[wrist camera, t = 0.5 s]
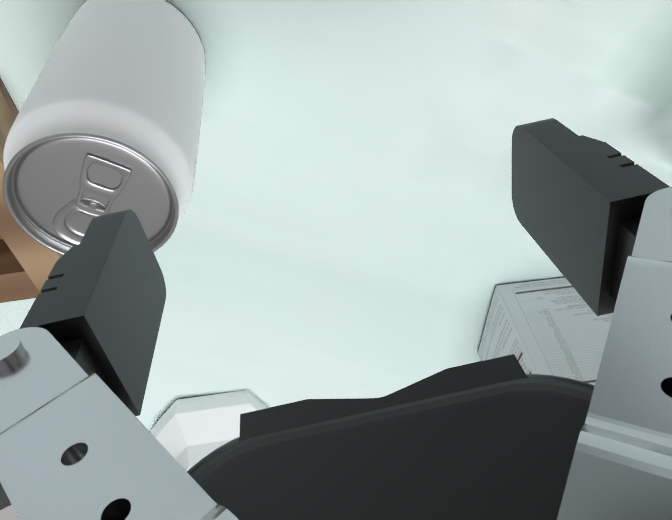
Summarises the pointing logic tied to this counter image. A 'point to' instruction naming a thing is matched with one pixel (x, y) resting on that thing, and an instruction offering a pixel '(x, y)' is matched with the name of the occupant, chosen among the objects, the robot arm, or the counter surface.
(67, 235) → the can
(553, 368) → the supplement box
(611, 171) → the robot arm
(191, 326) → the counter surface
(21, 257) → the brown open box
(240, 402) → the white faceted sculpture
